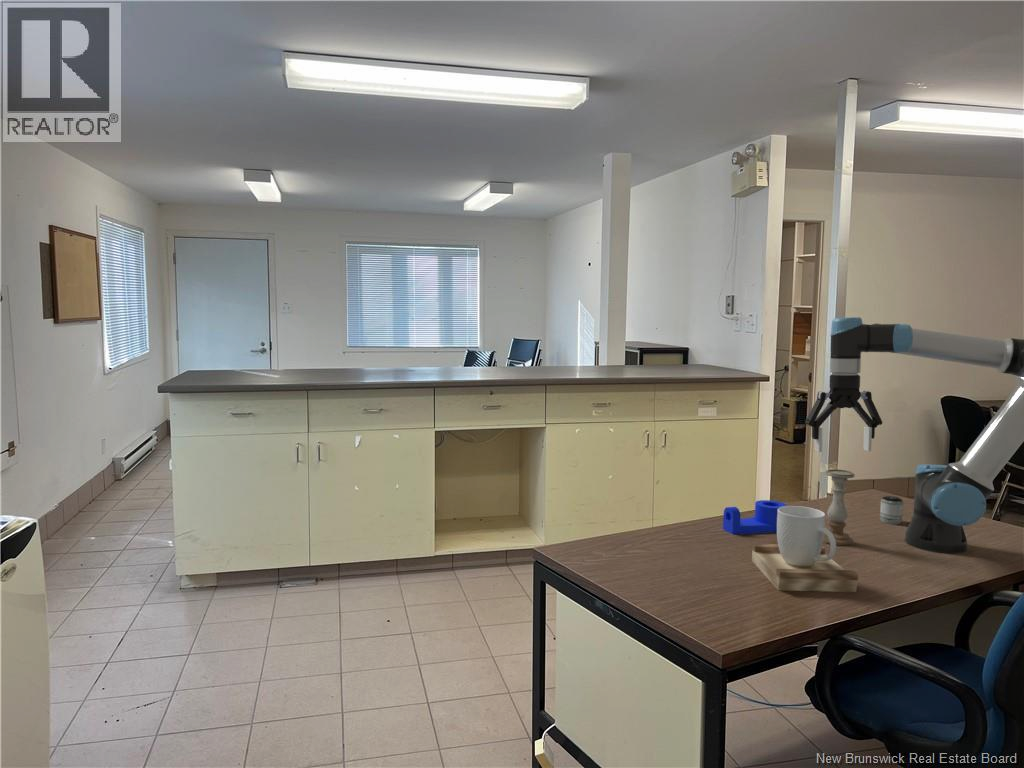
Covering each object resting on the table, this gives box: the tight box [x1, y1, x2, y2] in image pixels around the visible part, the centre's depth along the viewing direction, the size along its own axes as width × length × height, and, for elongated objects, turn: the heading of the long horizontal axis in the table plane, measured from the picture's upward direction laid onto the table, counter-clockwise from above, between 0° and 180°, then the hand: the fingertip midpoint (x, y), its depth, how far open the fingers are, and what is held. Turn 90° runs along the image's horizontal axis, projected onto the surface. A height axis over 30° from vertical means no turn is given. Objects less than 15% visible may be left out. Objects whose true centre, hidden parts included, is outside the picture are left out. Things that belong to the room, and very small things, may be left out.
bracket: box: [722, 499, 788, 535], centre depth 210 cm, size 20×9×8 cm, turn 107°
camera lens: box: [879, 495, 904, 525], centre depth 219 cm, size 6×6×8 cm
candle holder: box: [823, 468, 856, 546], centre depth 199 cm, size 9×9×20 cm
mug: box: [776, 505, 837, 567], centre depth 171 cm, size 15×11×13 cm
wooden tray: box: [751, 543, 859, 593], centre depth 172 cm, size 18×21×4 cm
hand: (842, 450), depth 191 cm, fingers open, 13 cm apart
